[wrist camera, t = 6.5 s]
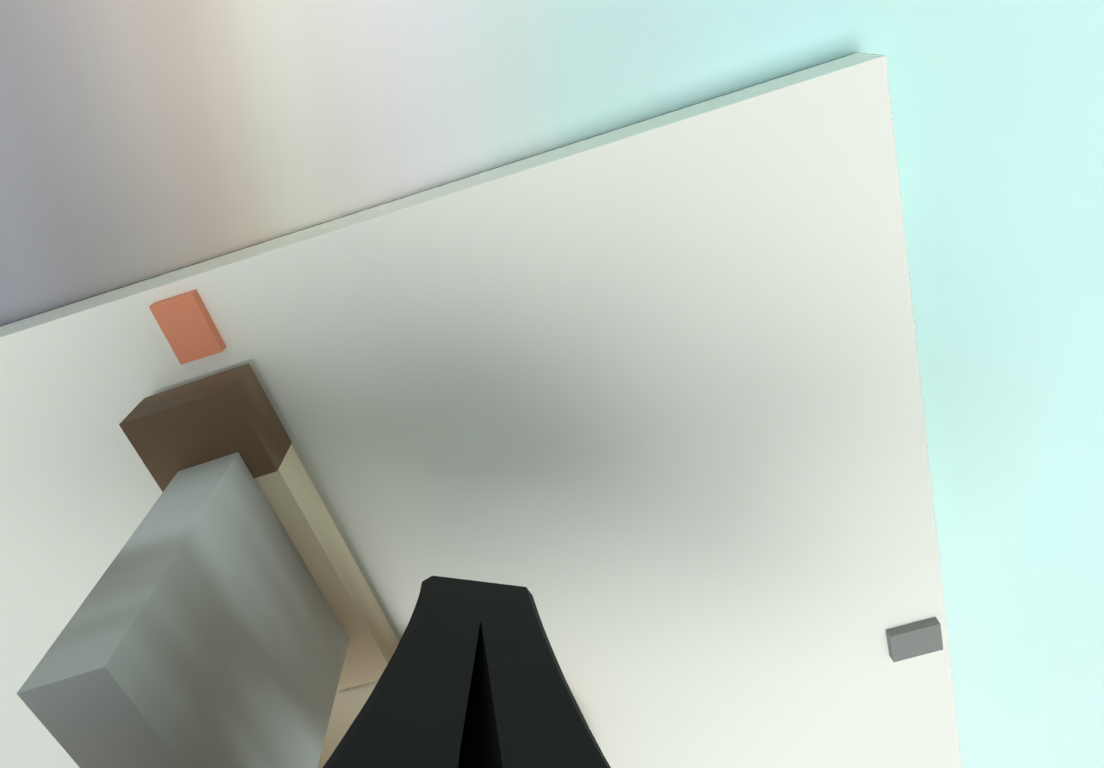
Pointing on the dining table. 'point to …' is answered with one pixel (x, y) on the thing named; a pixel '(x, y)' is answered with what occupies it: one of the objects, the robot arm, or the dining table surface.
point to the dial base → (567, 425)
